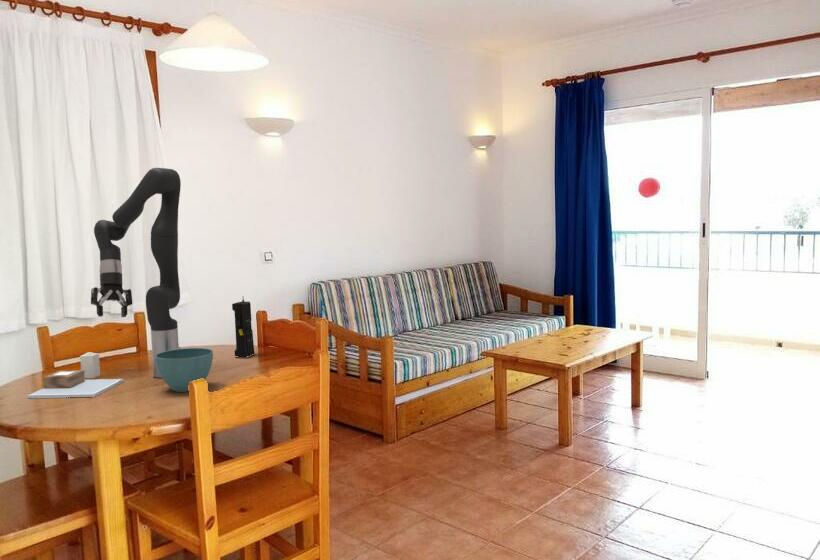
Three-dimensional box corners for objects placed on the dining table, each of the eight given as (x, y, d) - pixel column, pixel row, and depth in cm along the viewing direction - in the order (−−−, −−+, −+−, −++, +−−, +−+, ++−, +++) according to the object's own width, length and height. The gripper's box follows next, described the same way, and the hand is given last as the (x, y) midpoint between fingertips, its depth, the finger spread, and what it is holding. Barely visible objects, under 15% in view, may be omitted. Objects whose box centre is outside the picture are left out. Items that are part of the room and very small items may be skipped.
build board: (123, 381, 226) (122, 367, 226) (93, 397, 206) (92, 382, 206) (62, 382, 227) (61, 368, 227) (27, 398, 207) (26, 383, 207)
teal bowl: (184, 380, 226) (182, 346, 225) (226, 384, 219) (224, 349, 218) (145, 393, 210) (142, 357, 208) (189, 398, 203) (186, 360, 201)
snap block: (100, 375, 237) (98, 351, 236) (93, 378, 233) (92, 354, 232) (88, 375, 237) (86, 351, 236) (81, 378, 233) (79, 354, 232)
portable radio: (247, 359, 260) (244, 298, 257) (233, 358, 261) (230, 298, 258) (255, 354, 267) (252, 295, 265) (242, 354, 268) (239, 295, 266)
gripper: (96, 269, 228) (97, 314, 225) (134, 272, 239) (136, 315, 236) (86, 274, 233) (87, 318, 230) (124, 276, 244) (126, 318, 241)
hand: (112, 316), depth 233 cm, fingers open, 8 cm apart
